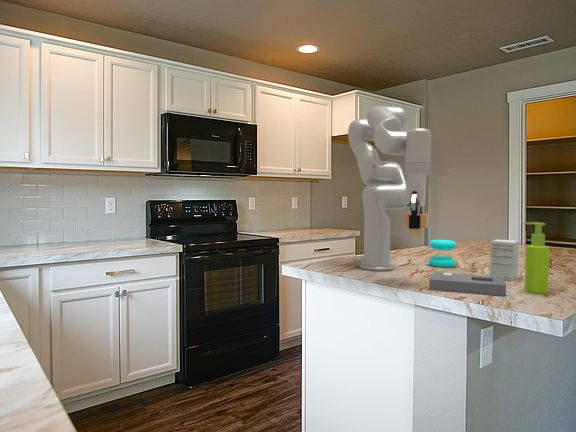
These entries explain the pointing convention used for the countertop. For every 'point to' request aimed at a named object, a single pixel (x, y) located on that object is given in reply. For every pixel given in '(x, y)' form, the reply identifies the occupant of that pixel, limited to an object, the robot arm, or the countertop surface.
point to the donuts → (442, 260)
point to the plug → (423, 224)
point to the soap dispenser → (537, 262)
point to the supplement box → (504, 259)
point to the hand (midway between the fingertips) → (415, 227)
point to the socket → (468, 283)
